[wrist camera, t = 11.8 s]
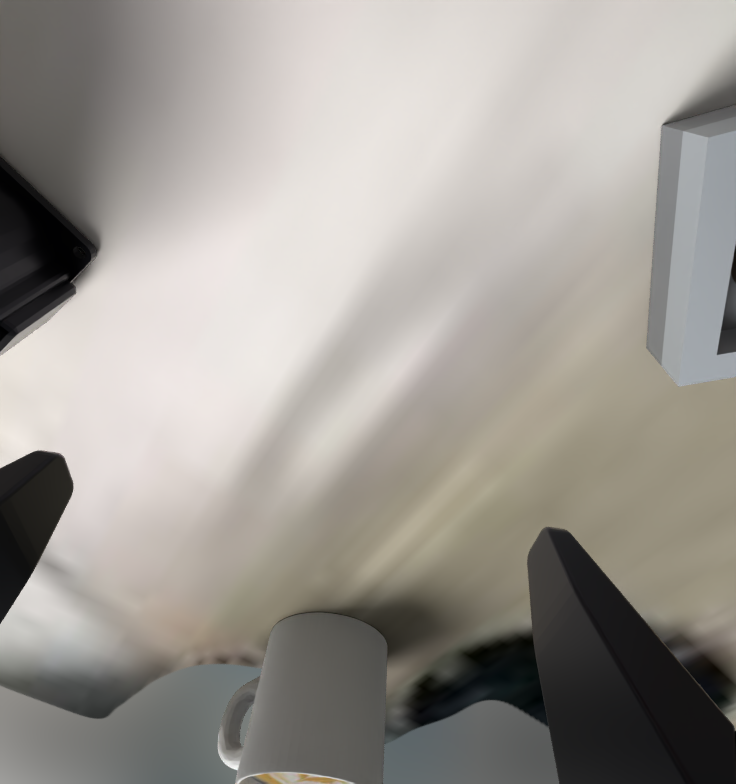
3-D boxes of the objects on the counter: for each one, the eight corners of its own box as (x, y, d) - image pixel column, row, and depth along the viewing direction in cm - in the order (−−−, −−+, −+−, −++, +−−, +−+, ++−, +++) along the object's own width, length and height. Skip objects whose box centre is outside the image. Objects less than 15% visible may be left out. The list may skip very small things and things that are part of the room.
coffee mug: (375, 609, 35) (365, 773, 27) (396, 669, 41) (393, 820, 33) (214, 616, 38) (161, 769, 29) (255, 671, 43) (220, 813, 35)
